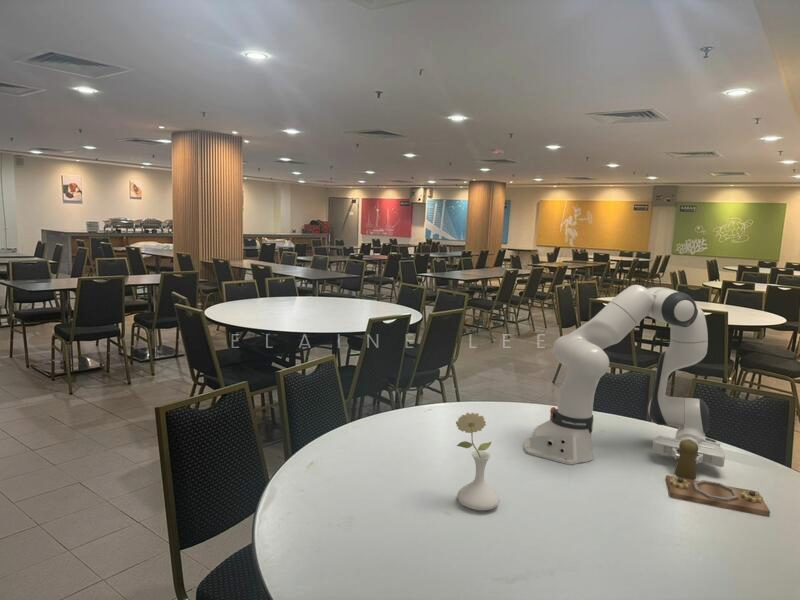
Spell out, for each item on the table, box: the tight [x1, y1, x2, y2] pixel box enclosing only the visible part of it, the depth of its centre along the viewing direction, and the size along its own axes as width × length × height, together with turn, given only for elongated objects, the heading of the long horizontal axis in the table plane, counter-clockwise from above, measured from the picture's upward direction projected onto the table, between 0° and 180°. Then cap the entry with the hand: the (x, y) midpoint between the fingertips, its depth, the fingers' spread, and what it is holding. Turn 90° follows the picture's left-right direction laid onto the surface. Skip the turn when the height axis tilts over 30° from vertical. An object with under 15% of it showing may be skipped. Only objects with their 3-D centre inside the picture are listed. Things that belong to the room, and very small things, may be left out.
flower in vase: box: [455, 412, 501, 511], centre depth 143 cm, size 13×11×25 cm
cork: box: [674, 440, 698, 480], centre depth 166 cm, size 6×6×11 cm
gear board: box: [665, 474, 771, 518], centre depth 153 cm, size 24×12×4 cm, turn 69°
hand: (686, 459), depth 166 cm, fingers closed on cork, 3 cm apart
